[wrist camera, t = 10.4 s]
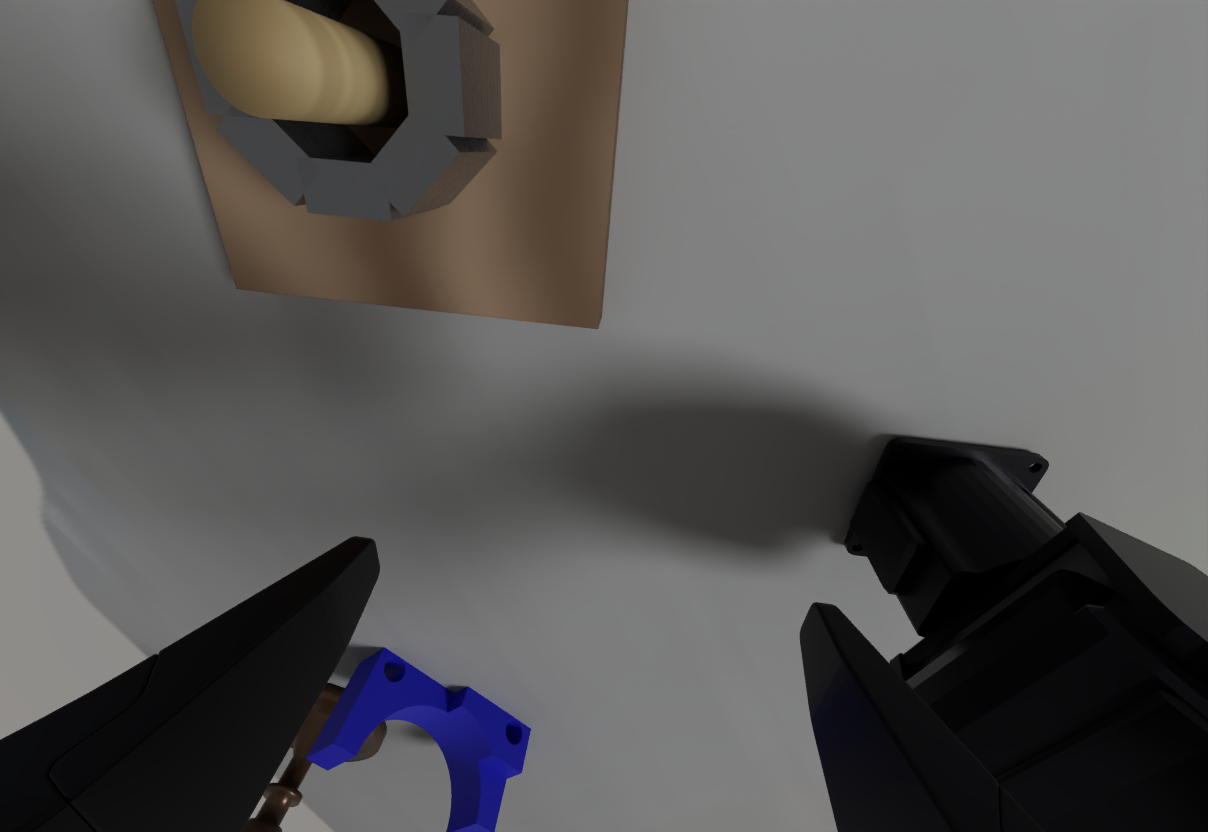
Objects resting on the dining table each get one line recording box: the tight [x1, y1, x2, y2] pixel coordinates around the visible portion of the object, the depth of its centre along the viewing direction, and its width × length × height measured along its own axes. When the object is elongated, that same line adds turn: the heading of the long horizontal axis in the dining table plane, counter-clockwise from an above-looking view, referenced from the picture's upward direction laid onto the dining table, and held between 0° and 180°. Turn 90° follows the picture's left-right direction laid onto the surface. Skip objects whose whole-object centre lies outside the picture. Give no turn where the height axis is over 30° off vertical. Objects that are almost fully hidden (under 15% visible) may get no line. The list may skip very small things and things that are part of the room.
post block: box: [153, 0, 629, 329], centre depth 13 cm, size 14×14×8 cm
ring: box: [175, 0, 502, 221], centre depth 13 cm, size 7×7×4 cm
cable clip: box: [306, 648, 531, 832], centre depth 31 cm, size 12×4×6 cm, turn 41°
